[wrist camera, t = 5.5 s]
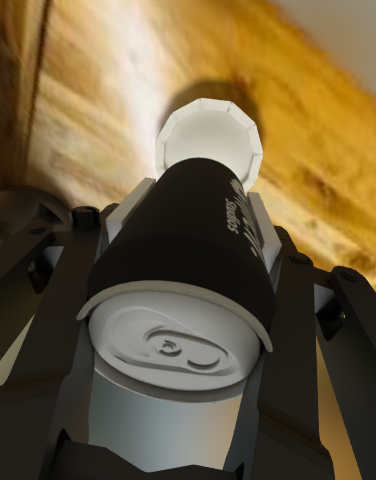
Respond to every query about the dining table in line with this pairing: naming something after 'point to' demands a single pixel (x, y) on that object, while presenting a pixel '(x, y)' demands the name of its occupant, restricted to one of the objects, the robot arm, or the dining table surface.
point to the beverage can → (183, 290)
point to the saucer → (211, 138)
